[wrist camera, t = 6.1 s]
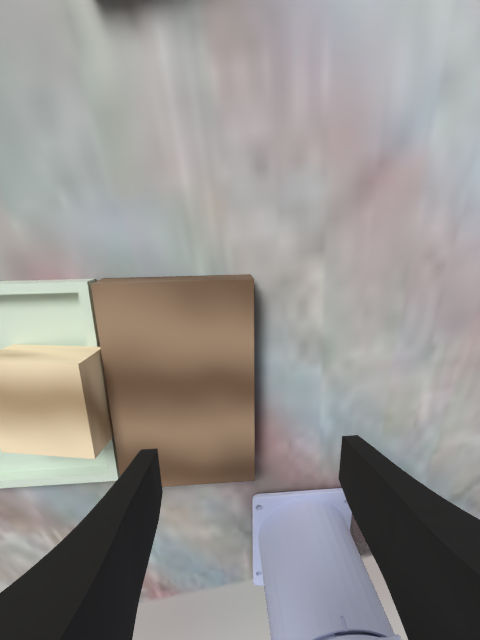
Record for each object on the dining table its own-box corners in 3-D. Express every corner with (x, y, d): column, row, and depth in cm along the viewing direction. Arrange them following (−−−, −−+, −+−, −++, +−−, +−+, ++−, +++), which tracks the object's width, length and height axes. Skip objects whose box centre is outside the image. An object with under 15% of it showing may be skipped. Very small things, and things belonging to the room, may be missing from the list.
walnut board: (251, 459, 23) (254, 480, 21) (130, 467, 23) (122, 489, 21) (250, 274, 19) (253, 279, 17) (103, 278, 19) (90, 283, 17)
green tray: (123, 468, 23) (118, 480, 22) (-19, 476, 22) (-32, 490, 21) (95, 278, 19) (87, 281, 18) (-79, 283, 18) (-100, 286, 17)
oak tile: (116, 432, 20) (95, 459, 18) (32, 426, 21) (1, 452, 19) (103, 346, 19) (78, 364, 16) (13, 344, 19) (-25, 360, 17)
